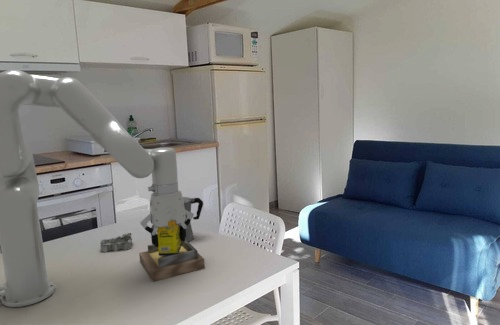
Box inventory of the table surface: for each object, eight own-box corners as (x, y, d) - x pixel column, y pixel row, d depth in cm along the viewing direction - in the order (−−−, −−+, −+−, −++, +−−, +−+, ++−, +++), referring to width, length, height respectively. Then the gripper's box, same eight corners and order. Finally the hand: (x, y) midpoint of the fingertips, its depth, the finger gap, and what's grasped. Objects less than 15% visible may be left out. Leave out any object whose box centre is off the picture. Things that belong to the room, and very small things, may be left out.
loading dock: (153, 281, 107) (151, 263, 106) (140, 261, 121) (138, 245, 120) (204, 267, 115) (203, 251, 114) (186, 250, 129) (185, 235, 128)
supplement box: (177, 255, 114) (175, 221, 112) (158, 256, 114) (155, 221, 112) (181, 247, 120) (179, 215, 118) (162, 248, 120) (160, 215, 118)
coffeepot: (161, 244, 135) (157, 196, 132) (166, 235, 144) (162, 189, 141) (204, 242, 135) (201, 194, 132) (206, 233, 145) (203, 188, 141)
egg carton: (133, 242, 138) (132, 232, 138) (131, 250, 131) (130, 239, 130) (103, 245, 136) (102, 234, 136) (98, 253, 129) (97, 242, 129)
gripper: (139, 195, 106) (144, 253, 109) (197, 186, 115) (200, 240, 118) (133, 190, 113) (138, 245, 116) (188, 182, 121) (191, 233, 124)
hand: (169, 242), depth 117 cm, fingers closed on supplement box, 8 cm apart
